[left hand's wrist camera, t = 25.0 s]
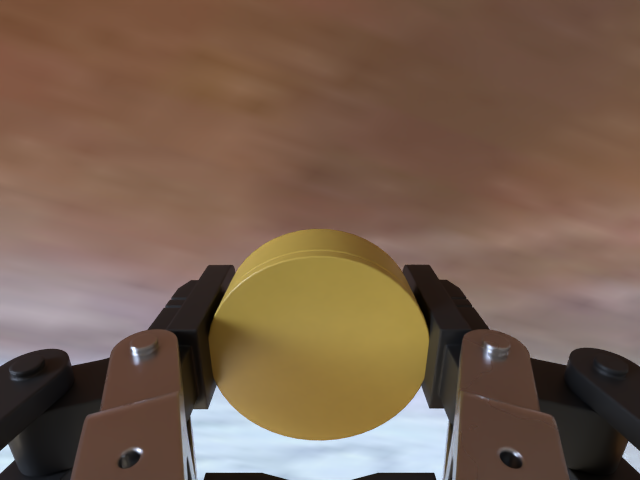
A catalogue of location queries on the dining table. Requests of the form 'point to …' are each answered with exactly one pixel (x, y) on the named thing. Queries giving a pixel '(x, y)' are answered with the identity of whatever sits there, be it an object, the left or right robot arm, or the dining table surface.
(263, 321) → the lid
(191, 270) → the dining table surface
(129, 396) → the left robot arm
